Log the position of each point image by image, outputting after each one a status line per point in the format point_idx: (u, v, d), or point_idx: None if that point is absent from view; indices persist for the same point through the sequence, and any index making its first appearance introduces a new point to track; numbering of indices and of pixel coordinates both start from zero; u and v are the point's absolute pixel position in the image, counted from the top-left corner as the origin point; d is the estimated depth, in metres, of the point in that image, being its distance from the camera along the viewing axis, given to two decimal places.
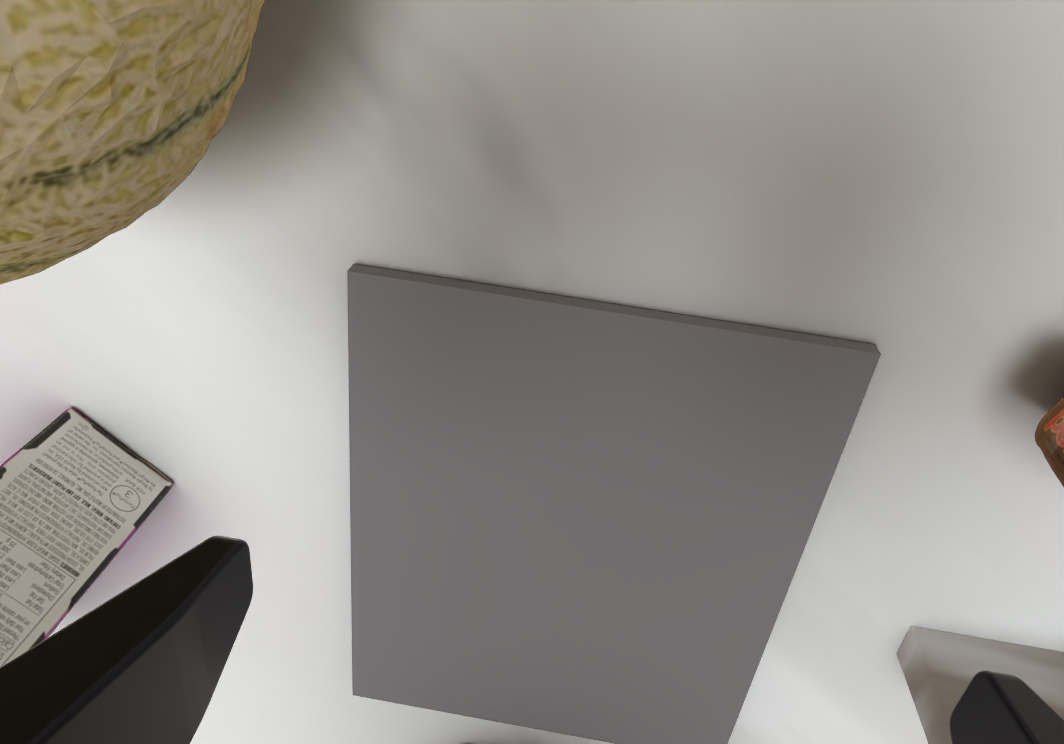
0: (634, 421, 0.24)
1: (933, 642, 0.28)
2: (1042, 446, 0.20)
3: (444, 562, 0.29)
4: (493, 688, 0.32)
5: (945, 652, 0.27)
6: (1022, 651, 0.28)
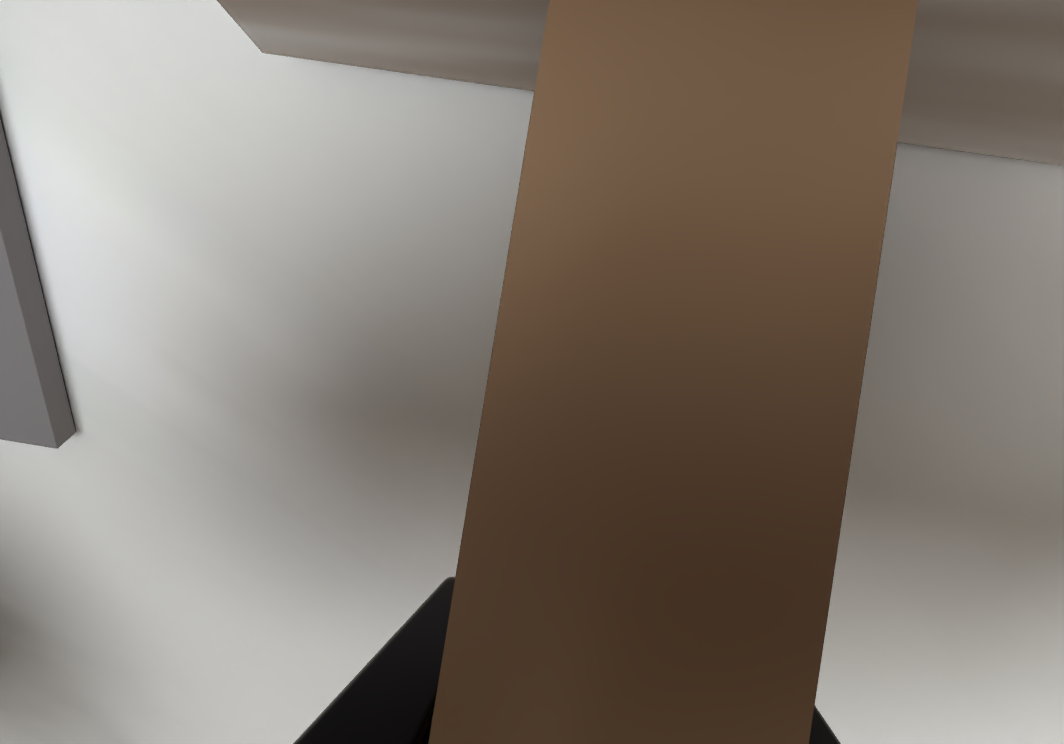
0: None
1: None
2: None
3: None
4: None
5: None
6: None
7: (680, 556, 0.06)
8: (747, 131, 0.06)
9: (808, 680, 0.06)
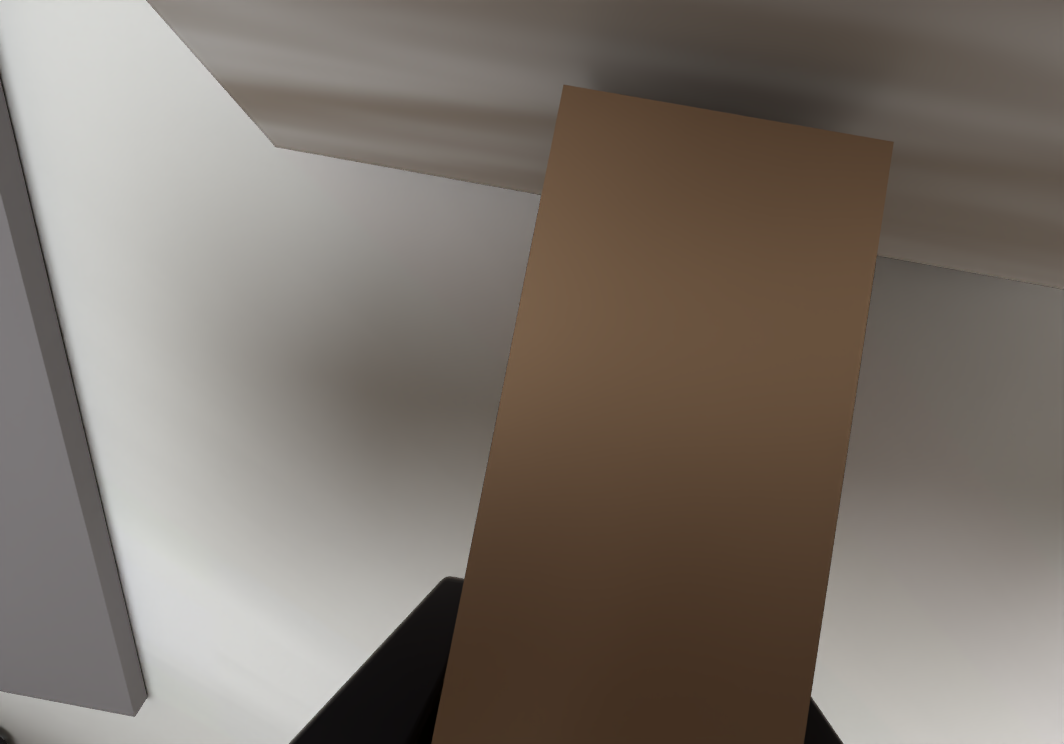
0: None
1: None
2: None
3: None
4: None
5: None
6: None
7: (661, 672, 0.06)
8: (734, 267, 0.07)
9: None
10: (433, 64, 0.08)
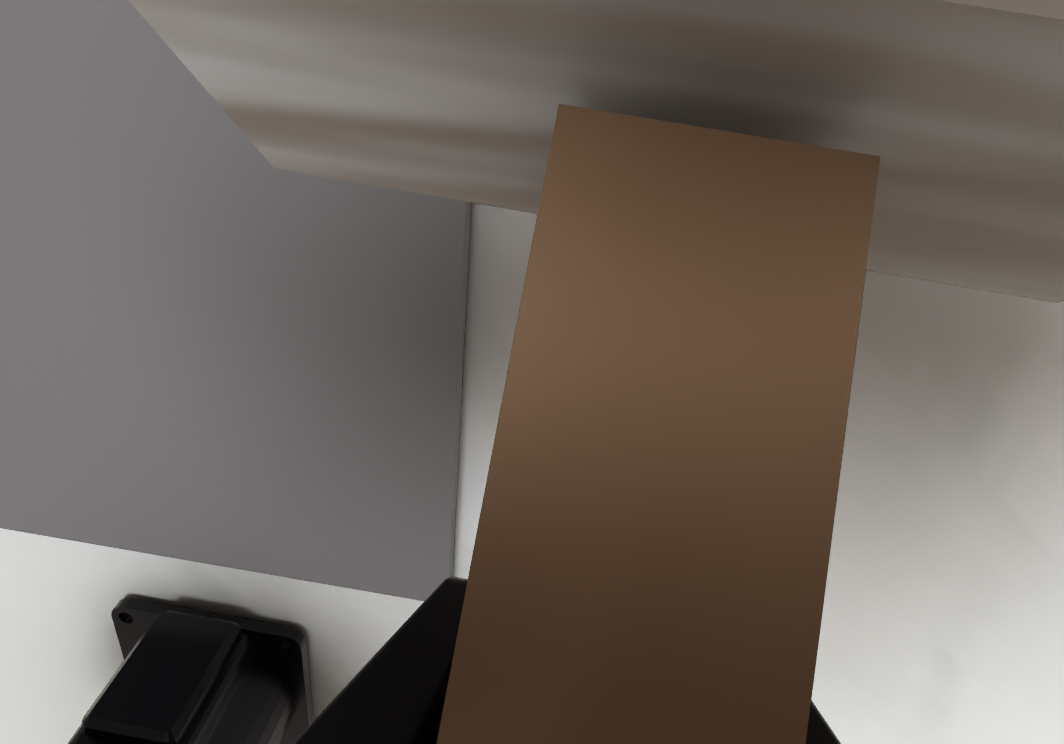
0: None
1: None
2: None
3: None
4: (117, 497, 0.22)
5: None
6: None
7: (663, 680, 0.06)
8: (727, 277, 0.07)
9: None
10: (431, 85, 0.08)
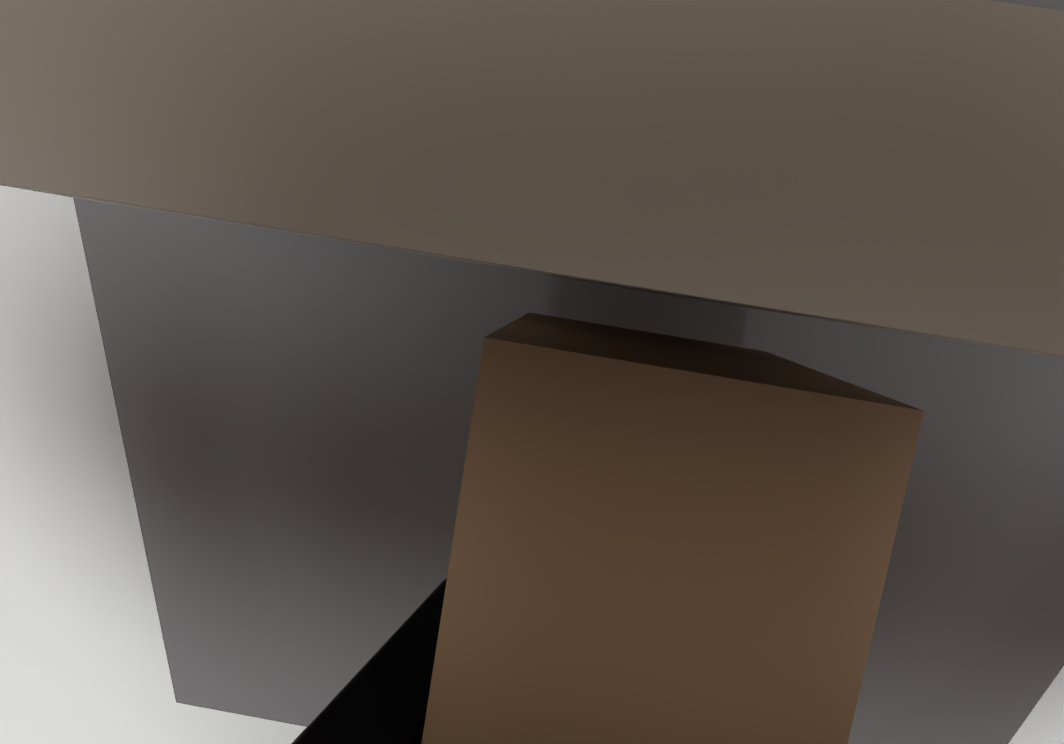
0: None
1: None
2: None
3: (331, 383, 0.12)
4: None
5: None
6: None
7: None
8: (704, 573, 0.05)
9: None
10: None
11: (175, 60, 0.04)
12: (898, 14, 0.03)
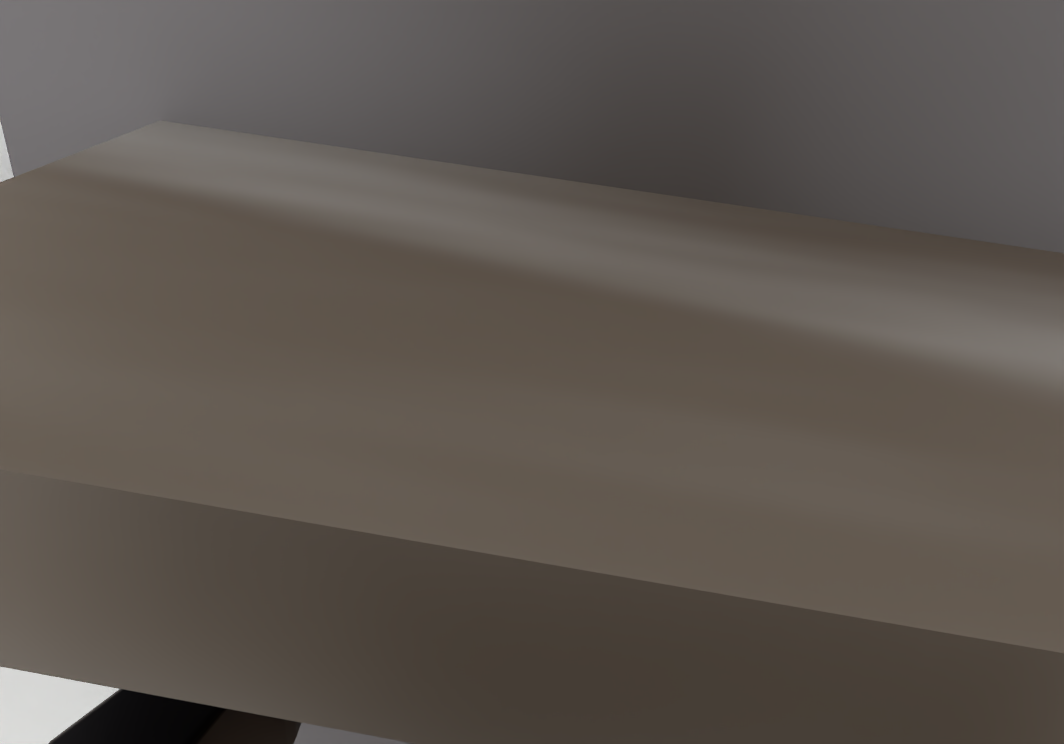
0: None
1: (180, 141, 0.08)
2: None
3: None
4: None
5: (192, 153, 0.08)
6: (484, 177, 0.08)
7: None
8: None
9: None
10: None
11: (108, 601, 0.04)
12: (784, 634, 0.03)
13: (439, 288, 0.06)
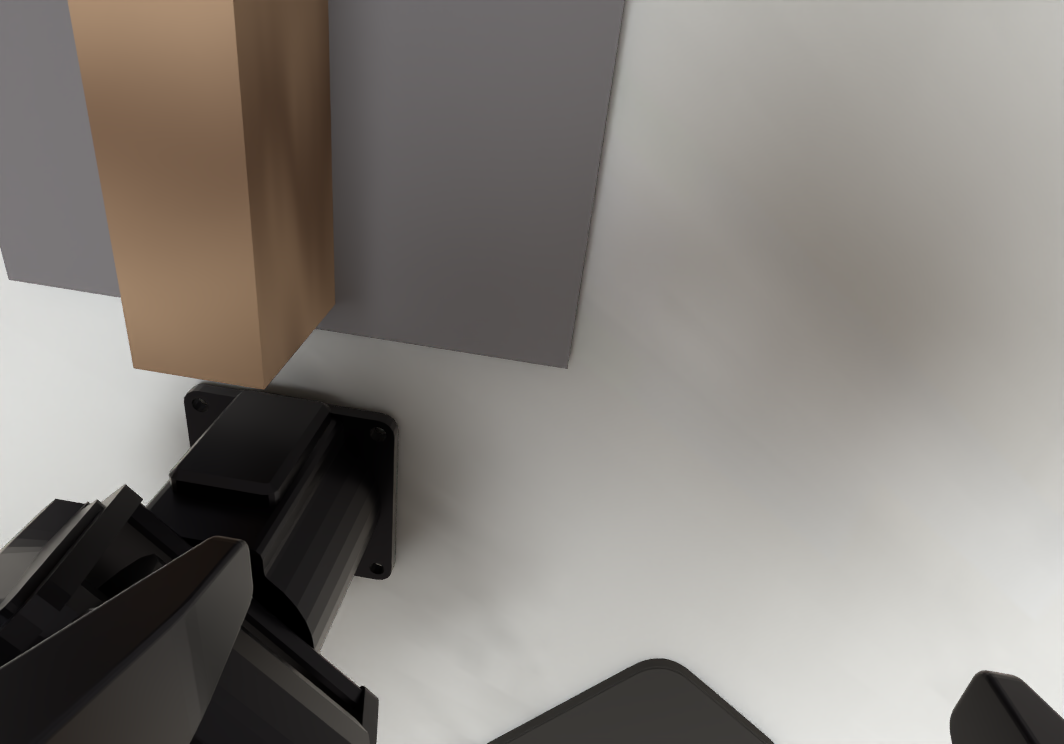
0: None
1: None
2: None
3: None
4: None
5: None
6: None
7: (182, 149, 0.14)
8: None
9: (245, 200, 0.15)
10: None
11: None
12: None
13: None
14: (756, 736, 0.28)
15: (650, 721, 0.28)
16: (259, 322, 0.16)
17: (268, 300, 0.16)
